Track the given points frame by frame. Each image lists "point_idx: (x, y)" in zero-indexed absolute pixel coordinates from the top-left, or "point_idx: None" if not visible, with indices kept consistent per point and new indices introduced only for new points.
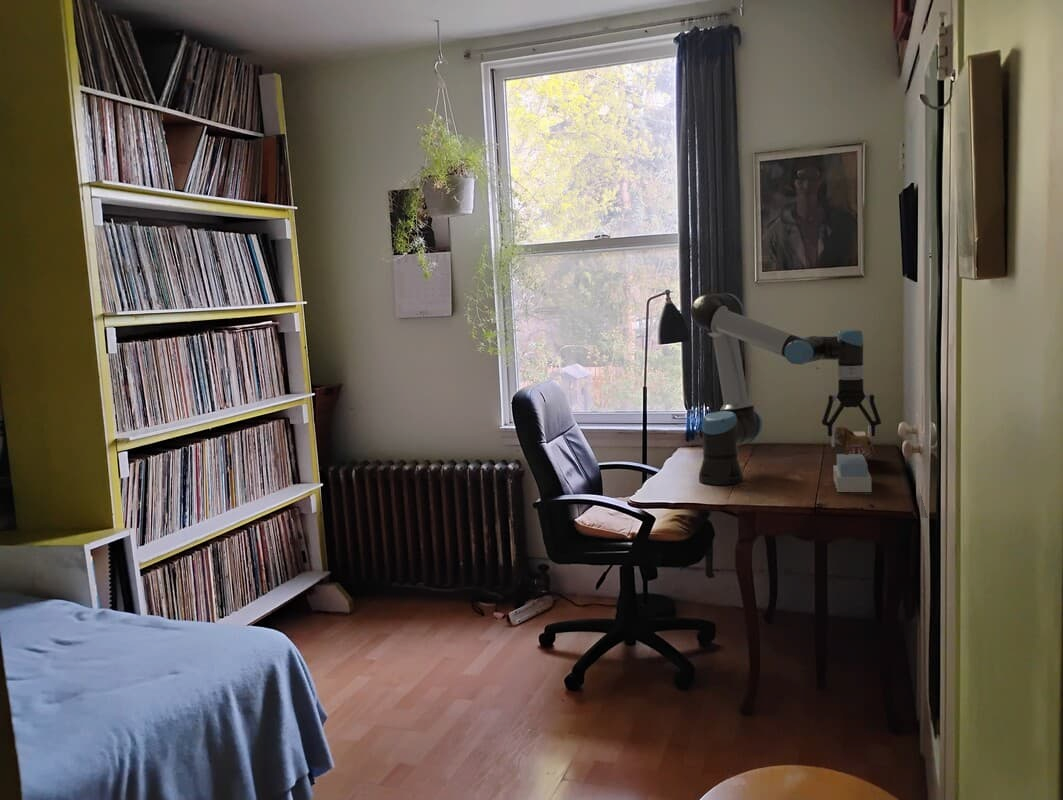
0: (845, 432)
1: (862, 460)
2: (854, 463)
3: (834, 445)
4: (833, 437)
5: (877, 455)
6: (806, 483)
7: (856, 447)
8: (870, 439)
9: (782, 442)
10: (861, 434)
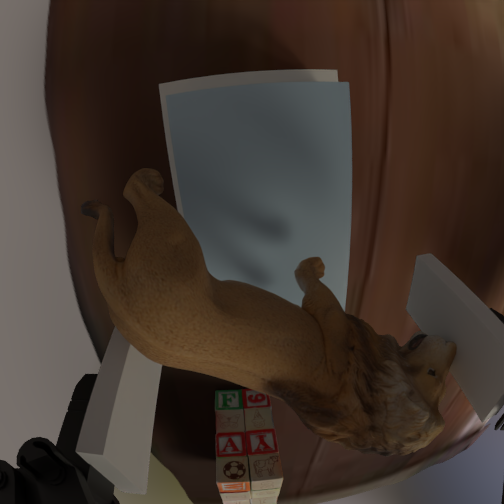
0: (375, 394)
1: (204, 218)
2: (256, 111)
3: (423, 261)
4: (468, 296)
5: (91, 201)
6: (410, 224)
7: (247, 452)
8: (119, 336)
9: (357, 487)
10: (234, 499)
